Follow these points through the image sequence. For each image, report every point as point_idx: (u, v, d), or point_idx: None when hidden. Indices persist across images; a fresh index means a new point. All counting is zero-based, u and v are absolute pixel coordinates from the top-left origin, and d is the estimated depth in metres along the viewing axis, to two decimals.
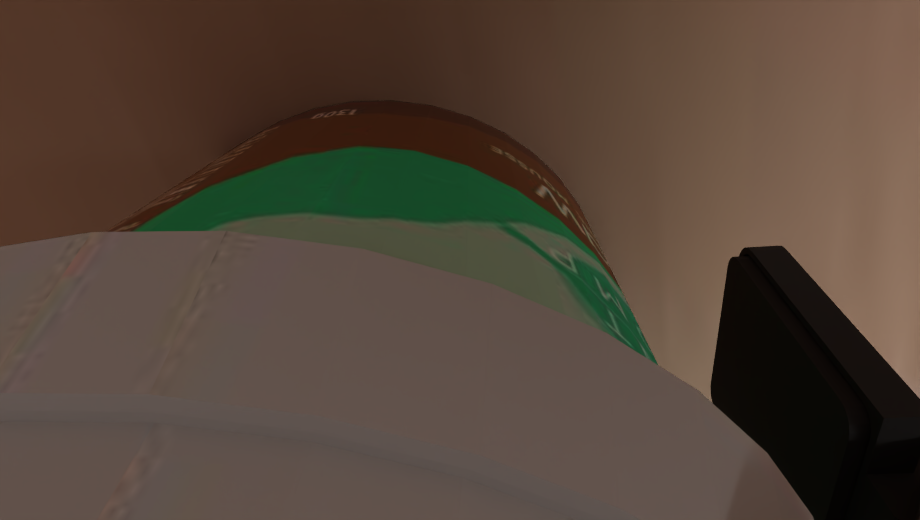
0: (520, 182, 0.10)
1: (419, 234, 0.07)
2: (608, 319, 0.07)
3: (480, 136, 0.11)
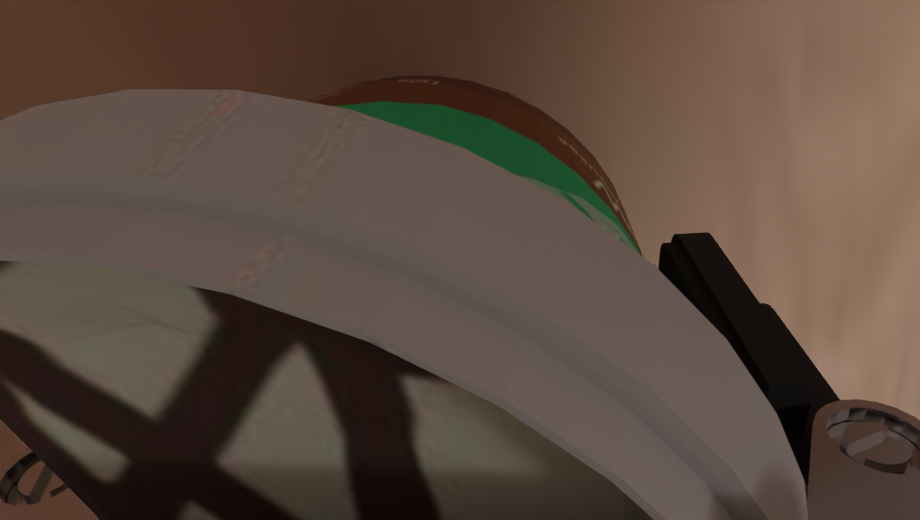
0: (580, 170, 0.11)
1: None
2: None
3: (549, 126, 0.12)
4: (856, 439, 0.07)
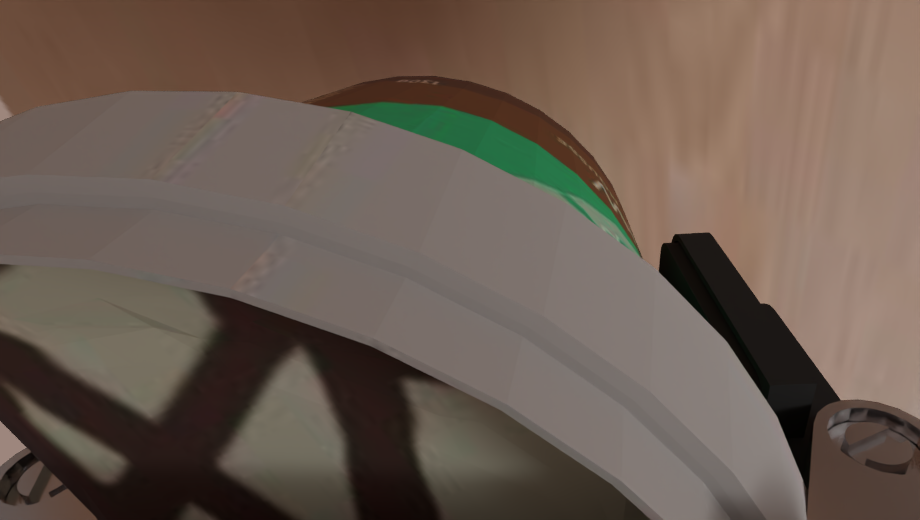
0: (580, 171, 0.11)
1: None
2: None
3: (548, 127, 0.12)
4: (857, 439, 0.07)
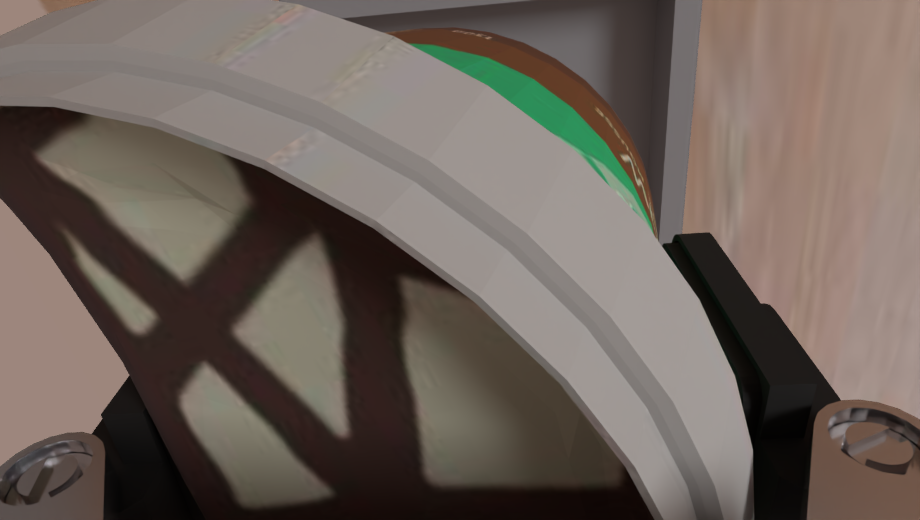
0: (610, 141, 0.11)
1: None
2: None
3: (589, 96, 0.12)
4: (858, 439, 0.07)
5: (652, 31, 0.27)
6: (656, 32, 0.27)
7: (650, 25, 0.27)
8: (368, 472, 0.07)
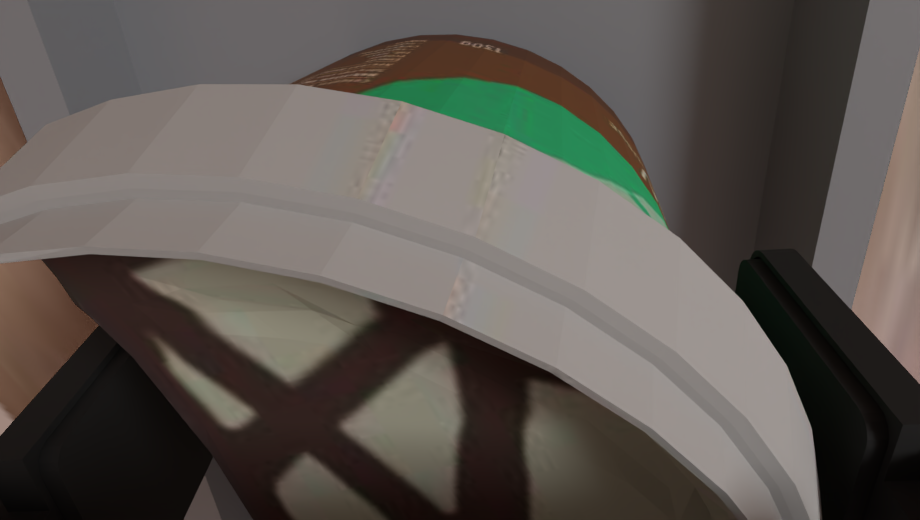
0: (632, 161, 0.11)
1: None
2: None
3: (600, 109, 0.12)
4: None
5: None
6: None
7: None
8: None
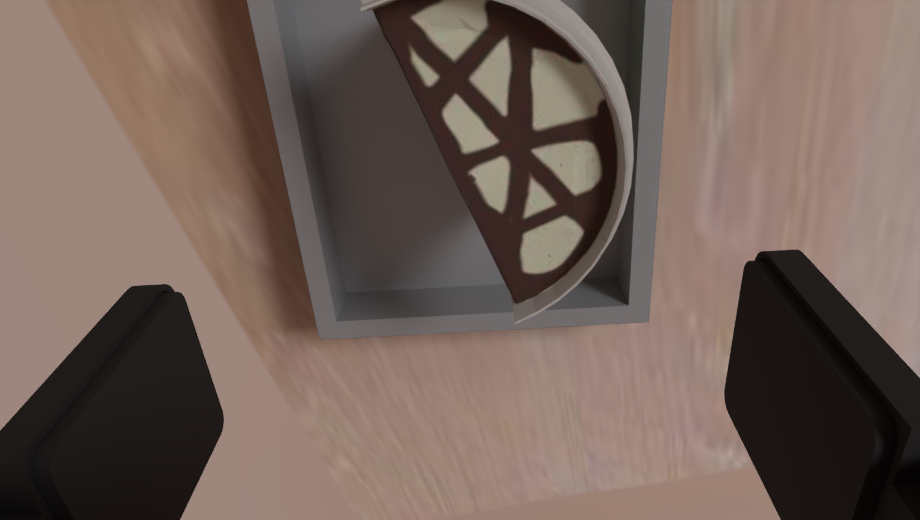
0: None
1: None
2: None
3: None
4: None
5: None
6: None
7: None
8: (512, 130, 0.20)
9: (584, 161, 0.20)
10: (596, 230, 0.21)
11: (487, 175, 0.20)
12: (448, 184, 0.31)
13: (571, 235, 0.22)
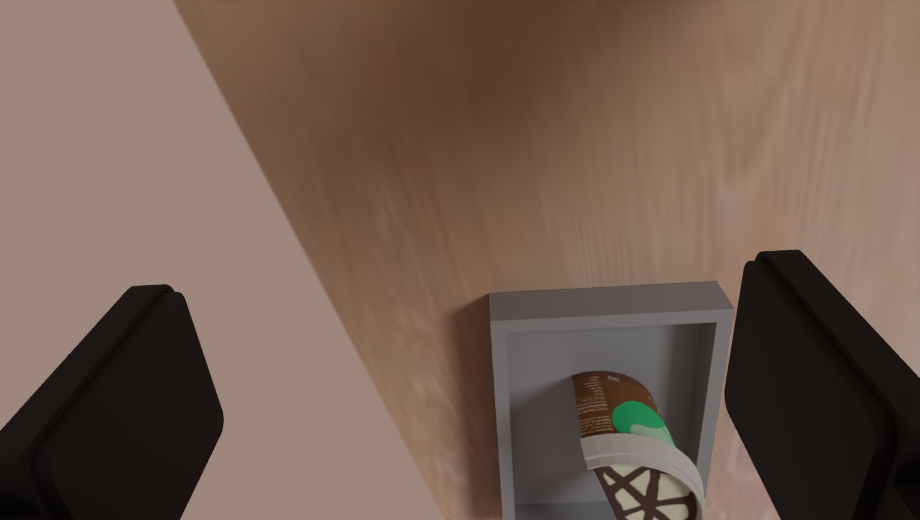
0: (656, 410, 0.46)
1: (656, 431, 0.43)
2: None
3: (644, 391, 0.48)
4: None
5: (699, 325, 0.46)
6: (701, 326, 0.46)
7: None
8: (647, 500, 0.42)
9: (680, 510, 0.42)
10: None
11: (633, 517, 0.42)
12: (583, 454, 0.52)
13: None
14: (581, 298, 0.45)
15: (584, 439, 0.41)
